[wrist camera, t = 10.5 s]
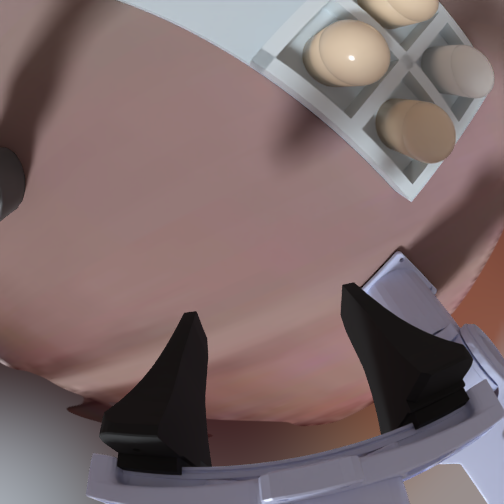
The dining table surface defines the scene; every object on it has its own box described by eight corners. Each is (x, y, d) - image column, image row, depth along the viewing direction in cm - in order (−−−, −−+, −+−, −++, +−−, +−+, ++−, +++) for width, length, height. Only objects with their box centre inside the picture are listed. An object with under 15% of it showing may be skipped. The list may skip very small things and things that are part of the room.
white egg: (462, 74, 15) (509, 80, 10) (442, 103, 16) (491, 113, 11) (434, 37, 13) (482, 33, 8) (413, 65, 15) (462, 64, 10)
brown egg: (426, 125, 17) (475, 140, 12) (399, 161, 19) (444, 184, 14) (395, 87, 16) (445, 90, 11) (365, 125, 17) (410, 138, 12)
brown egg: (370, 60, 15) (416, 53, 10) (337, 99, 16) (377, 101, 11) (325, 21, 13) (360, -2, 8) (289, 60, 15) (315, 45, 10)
